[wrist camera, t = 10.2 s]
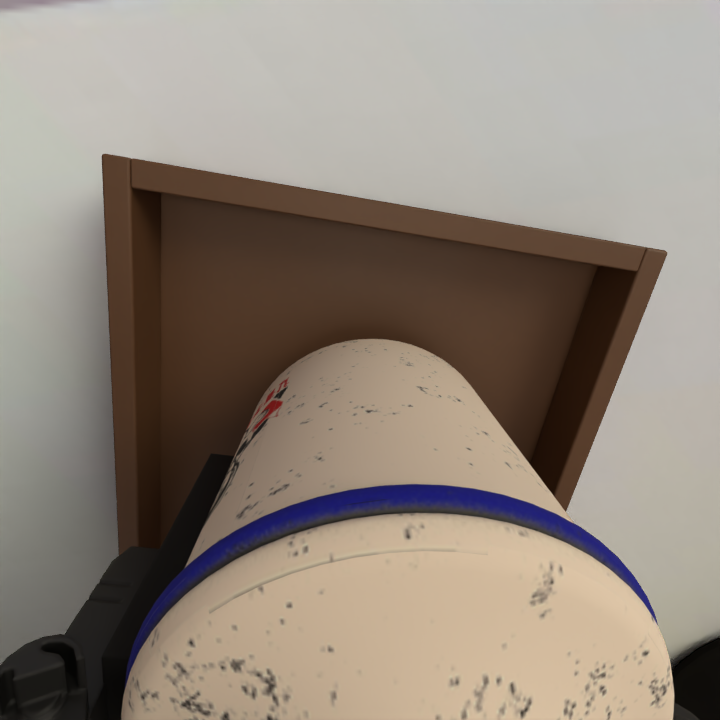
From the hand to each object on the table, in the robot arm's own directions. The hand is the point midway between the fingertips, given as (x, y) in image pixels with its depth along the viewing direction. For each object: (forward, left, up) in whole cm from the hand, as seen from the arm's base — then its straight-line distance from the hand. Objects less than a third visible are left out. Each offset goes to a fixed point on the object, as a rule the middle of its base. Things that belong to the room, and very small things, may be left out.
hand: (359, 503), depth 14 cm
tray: (0, 0, -4) cm, 4 cm away
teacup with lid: (0, 0, -2) cm, 2 cm away
